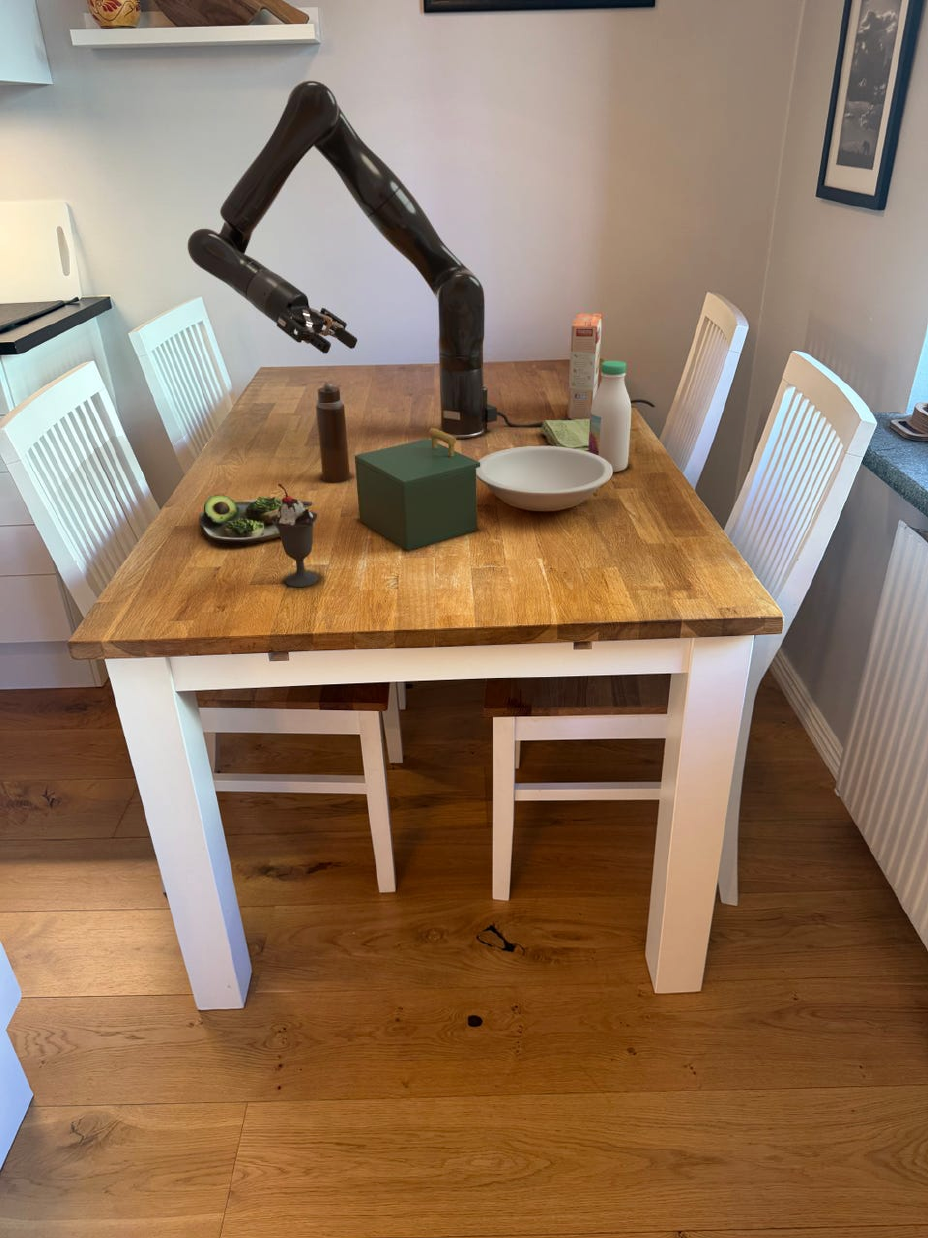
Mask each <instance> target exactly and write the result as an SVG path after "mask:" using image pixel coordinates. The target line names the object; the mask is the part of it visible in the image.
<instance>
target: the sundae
mask: <svg viewBox="0 0 928 1238" xmlns="http://www.w3.org/2000/svg"><path fill="white" fill-rule="evenodd" d="M277 486H278V487H280V488H281V489H282V490H283V491H284V494H285V496H284V497H282V498H281V499H282V505H281V507H279V509H278V514H277V515H274V516H273V517H272V518H271V522H272V523H273V524H274V526H276V527H277V529H278V530H279V534H280V537H279V538H280V542H281V544H282V548H283V550H284V553H285V555H286V556H288V557H289V558H290V559H292V560H294V561H295V567H296V571H295V572H293V573H291V574H289V575H288V576H287V577H285V580H284V581H285V584H286V585H287V586H289V587H292V588H306V587H310V586H313V585H315V584H316V583H317V582H318V581H319V575H318V574H316V573H314V572H312V571H307V570H306V568H305V561H304V560H305V559H306V558H307V557H308V556H309V555H310V554H311V553H312V551H313V543H314V540H313V539H314V524H315V523H316V521H317V520H318V513H316V512H313V511H311V510H309V508H306V507H304V505H303V503H301V502H300V500H298V499H295V498H293V497H292V496H289V495H288V492H287V490H286V488H285V487H284V486H283V484H282V483H278V484H277Z"/></svg>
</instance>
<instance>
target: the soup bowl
mask: <svg viewBox="0 0 928 1238" xmlns="http://www.w3.org/2000/svg"><path fill="white" fill-rule="evenodd" d="M477 461H478V462H480V467H478V468H476V479H478V480H479V481H480V482H482V483H483V484H485V485H486V487H487V488H488V489H489V490H490V492H491V493H492V494H493V495H494V496H495V497H496V498H498V499H499V500H500V501H503V502H504V503H505V504H507V505H509V506H512V507H514V508H517V509H522V510H526V511H530V512H531V511H533V512H556V511H562V510H566V509H569V508H573V507H575V506H576V507H577V506H578V505H580V504H581V503H583V502H585V501H587V500H588V499H589V498H590V497H591V496H593V495H594V494H595V493H596V491H598V489H599V488H600V487H601V486H603V485H604V484H606V483H608V482H609V481H610V480H611V478H612V476H613V473H614V472H613V469H612V466H611V464H610V463H609V462H608V461H606V460H605V459H604V458H602V457H600V456H598V455H595V454H593V453H590V452H586V451H583V450H578V449H573V448H567V447H558V446H553V445H527V446H526V445H525V446H517V447H511V448H506V449H501V450H498V451H493V452H492V453H489V454H487V455H484V456H483V457H481V458H480V459H479V460H477Z"/></svg>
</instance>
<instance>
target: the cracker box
mask: <svg viewBox="0 0 928 1238" xmlns="http://www.w3.org/2000/svg"><path fill="white" fill-rule="evenodd" d="M602 324H603V314H601V313H581V312H580V313H577V315H576V317H575V319H574V321H573V322H572V324H571V334H570V353H569V376H568V394H567V411H566V412H567V416H566V418H571V420H575V419H578V420H579V419H590V413H591V406H592V402H593V399H594V396H595V394H596V392H597V390H598V388H599V372H600V357H601V343H602V342H601V341H602V326H603V325H602Z"/></svg>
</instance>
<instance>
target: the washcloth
mask: <svg viewBox="0 0 928 1238" xmlns="http://www.w3.org/2000/svg"><path fill="white" fill-rule="evenodd" d="M543 422H544V423H543V425H542V426H541V428H540V432H541V434H542V435H543V436H545V438H546V441H547V442H548V443H549V444H550V445H551V446H558V447H567V448H573V449H578V450H583V451H586V452H588V446H589V428H590V419H579V420H578V419H575V420H566V421H564V420H563V421H562V419H554V420H553V419H549V420H547V419H546V420H544V421H543Z"/></svg>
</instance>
